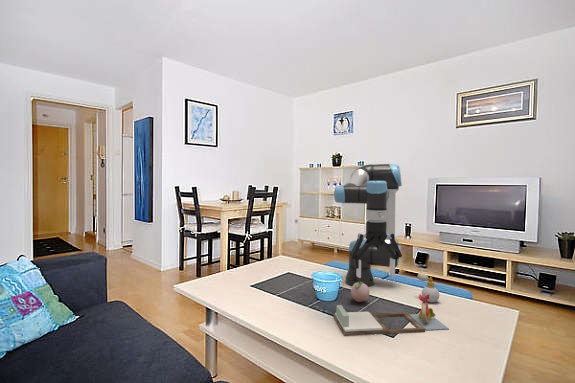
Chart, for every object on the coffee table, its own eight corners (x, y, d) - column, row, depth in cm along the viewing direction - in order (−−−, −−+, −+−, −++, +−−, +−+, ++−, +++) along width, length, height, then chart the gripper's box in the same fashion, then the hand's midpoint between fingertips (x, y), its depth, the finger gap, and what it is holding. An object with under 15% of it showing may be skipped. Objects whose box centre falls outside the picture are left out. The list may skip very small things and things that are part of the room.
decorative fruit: (368, 307, 134) (368, 285, 133) (349, 305, 136) (349, 283, 136) (370, 300, 142) (370, 278, 142) (352, 297, 145) (352, 277, 145)
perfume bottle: (438, 306, 136) (438, 279, 135) (415, 301, 141) (415, 275, 141) (440, 300, 142) (440, 275, 142) (417, 296, 147) (418, 271, 147)
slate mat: (408, 315, 126) (408, 314, 126) (429, 314, 127) (429, 313, 127) (426, 330, 113) (426, 329, 113) (448, 329, 114) (448, 328, 114)
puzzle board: (333, 317, 124) (333, 315, 124) (405, 314, 127) (405, 312, 127) (344, 336, 109) (344, 333, 109) (425, 332, 112) (425, 329, 112)
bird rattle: (434, 330, 116) (435, 313, 124) (434, 308, 112) (435, 291, 119) (417, 327, 119) (418, 310, 127) (416, 305, 115) (418, 289, 122)
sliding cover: (335, 314, 123) (335, 303, 123) (368, 313, 125) (368, 301, 125) (345, 331, 109) (345, 318, 109) (382, 329, 111) (382, 316, 111)
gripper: (348, 222, 111) (347, 280, 112) (412, 221, 114) (411, 277, 115) (341, 220, 118) (341, 274, 119) (401, 219, 122) (401, 272, 122)
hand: (375, 276), depth 117 cm, fingers open, 13 cm apart
